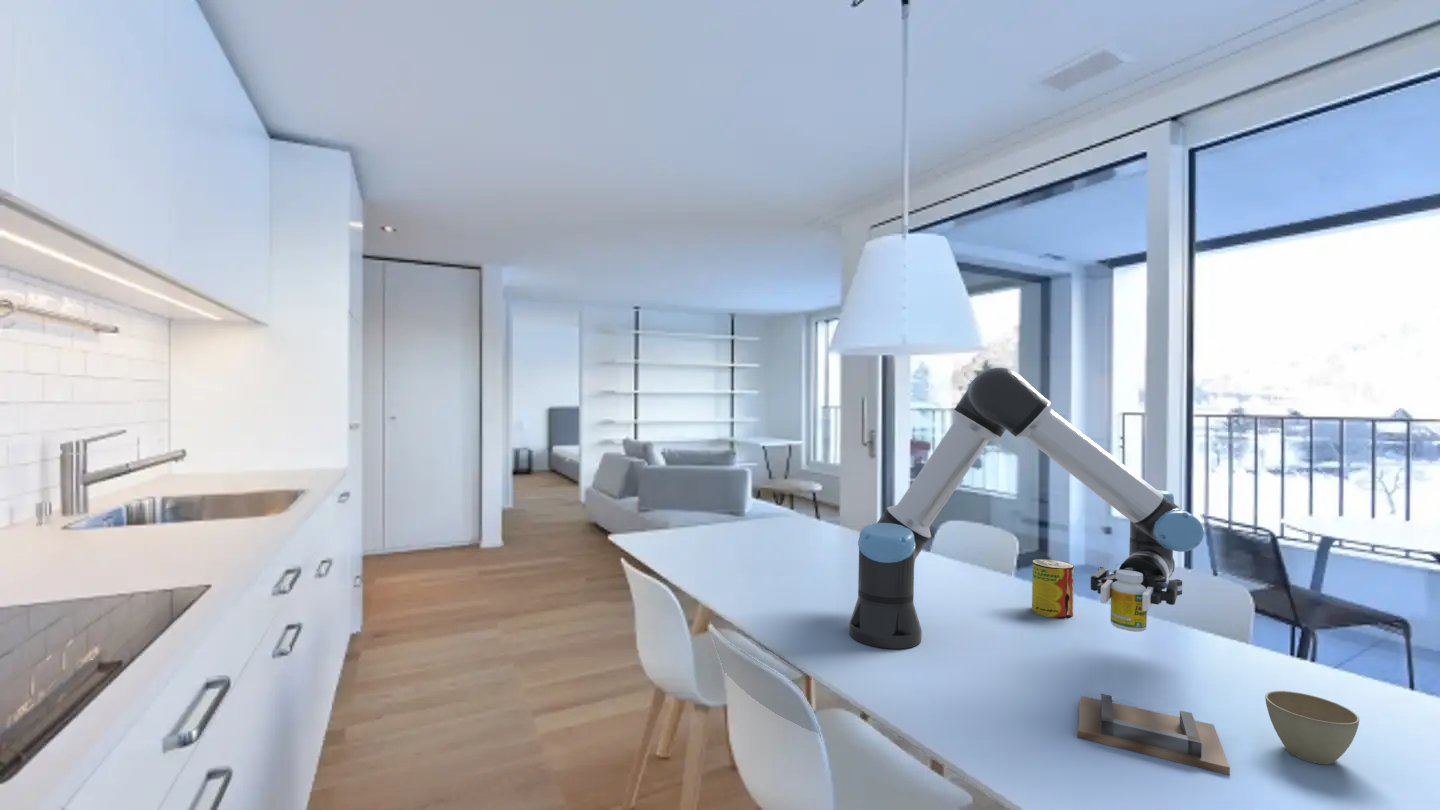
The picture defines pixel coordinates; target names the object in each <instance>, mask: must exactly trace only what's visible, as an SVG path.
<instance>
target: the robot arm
mask: <svg viewBox="0 0 1440 810" xmlns="http://www.w3.org/2000/svg"><path fill="white" fill-rule="evenodd" d="M953 416H954V421H953V423H952V424H951V426H950V427H949V429H948V430H947V431H946V433H945V435H944V436H943V438H941V441H940V442H939V443H938V445H937V446H936V448H935V449H934V450H933V453H931V455H930V457H929V458H928V460H927V461H926V463H925V464H924V465H923V467H922V468H921V470H920V471H919V473H918V474H917V475H916V477H915V479H914V480H913V482H912V483H911V484H910V486H909V487H908V489H907V490H906V492H905V493H904V494H903V496H902V498H901V499H900V501H899V502H898V503H897V504H896V505H891V506H888V507H887V508H886V509H885V511H884V512H883V514H882V515H881V517H880V518H879V519H878V521H877V523H872V524H868V525H864V527H862V528H861V530H860V532H859V536H858V537H859V538H858V541H857V544H858V578H857V579H858V580H857V581H858V583H857V585H858V586H857V589H858V591H857V600H856V603H855V606H854V609H853V610H852V614H851V617H850V620H849V623H848V624H849V625H848V626H849V627H848V628H849V630H848V631H849V632H848V633H849V635H850V637H852V638H853V639H854V640H856V641H857V642H860V643H862V644H865V645H867V646H871V647H877V648H883V649H892V650H893V649H895V650H896V649H897V650H898V649H899V650H900V649H909V648H913V647H917V646H918V645H920V643H921V642H922V634H923V633H922V627H921V623H920V620H919V616H918V613H917V611H916V607H915V603H914V602H915V601H914V597H915V596H914V593H915V591H914V590H915V589H914V587H915V586H914V585H915V563H916V559H917V557H918V556H919V554H920V553H921V552H922V550H923V549H924V548H925V546H926V544H927V543H928V541H929V540H930V538H931V537H932V535H931V533H932V532H931V531H930V528H931V525H932V524H933V522H934V521H935V519H936V518H937V516H938V515H939V514H940V512H941V510H942V509H943V508H944V506H945V505H946V504H947V502H948V501H949V499H950V498H951V497H952V495H953V493H955V491H956V489H957V488H958V487H959V485H960V483H961V482H962V480H963V479H964V478H965V476H966V475H967V473H968V472H969V471H970V470H971V468H972V466H973V465H974V463H975V462H976V461H977V459H978V457H979V456H980V455H981V453H982V452H983V451H984V449H985V448H986V447H987V445H988V443H989V442H990V441H994V440H995V441H996V440H999V439H1001V437H1002V436H1003V434H1004V433H1005V431H1007V432H1008V433H1010V434H1011V435H1012V436H1013V437H1015V438H1025V439H1026V440H1027V441H1028V442H1029V443H1031V444H1032V445H1034V446H1035V447H1036V448H1038V450H1040V451H1041V452H1042V453H1043V454H1045V455H1047V457H1048V458H1050V459H1051V460H1053V461H1054V462H1055V463H1056V464H1058V465H1059V466H1060V467H1061V468H1063V469H1064V470H1065V471H1067V472H1068V473H1069V474H1070V475H1072V476H1073V477H1074V478H1075V479H1077V480H1078V481H1079V482H1081V483H1082V484H1084V486H1086V487H1087V488H1088V489H1090V490H1091V491H1092V492H1094V494H1096V495H1097V496H1098V497H1100V498H1101V499H1102V500H1104V501H1105V502H1106V503H1107V504H1108V505H1110V506H1111V507H1112V508H1114V509H1115V510H1116V511H1118V513H1120V514H1121V515H1122V516H1123V517H1125V518H1126V519H1127V520H1129V545H1128V547H1129V548H1128V549H1129V552H1128V553H1129V556H1128V557H1127V558H1126V559H1125V560H1124V561H1123V562H1122V563H1121V565H1120V566H1119V568H1118V570H1131V571H1136V572H1139V573H1142V574H1143V581H1142V583H1141V585H1143V586H1144V587H1145V588H1146V590H1145V592H1144V593H1143V599H1142V611H1147V613H1148V612H1149V611H1150V609H1151V607H1152V605H1160V604H1162V602H1165V603H1166V604H1167V605H1171V606H1173V605H1175V604H1176V601H1177V597H1178V596H1182V594H1183V580H1181V579H1179V578H1178V579H1177V578H1176V579H1170V578H1171V577H1172V575H1173V574H1174V572H1175V565H1176V564H1175V559H1174V551H1175V552H1178V553H1179V552H1180V553H1181V552H1189V551H1192V550H1194V549H1196V548H1197V547H1199V546H1200V544H1201V543H1202V541H1203V539H1204V535H1205V534H1204V533H1205V530H1204V527H1203V525H1202V523H1201V521H1200V520H1199V519H1198V518H1197V517H1196V516H1194V515H1193V514H1192V513H1191V512H1189V511H1187V510H1183V509H1182V508H1181V507H1179V505H1177V504H1175V498H1174V494H1173V493H1172V492H1170V491H1166V490H1161V489H1160V490H1159V489H1156V488H1155V487H1153V485H1151V484H1149V483H1148V481H1146V480H1144V479H1143V478H1142V477H1141V476H1139V474H1137V473H1135V472H1134V471H1133V470H1131V469H1130V468H1129V467H1128V466H1126V465H1125V464H1123V463H1122V462H1121V461H1119V459H1118V458H1116V457H1114V456H1113V455H1112V454H1111V453H1109V452H1108V451H1106V450H1105V449H1104V448H1103V447H1102V446H1100V445H1099V444H1098V443H1096V442H1095V441H1094V440H1092V439H1091V438H1090V437H1088V436H1087V435H1086V434H1085V433H1083V432H1082V431H1080V430H1079V429H1078V428H1077V427H1075V426H1074V425H1072V423H1070V422H1069V421H1068V420H1066V419H1065V418H1063V416H1062V415H1060V414H1058V413H1057V412H1056V411H1054V410H1053V408H1052V404H1051V401H1050V400H1049V399H1047V398H1046V397H1045V396H1044V395H1042V394H1041V393H1040V392H1039V391H1038V390H1037V389H1035V387H1033V385H1031V384H1030V383H1029V381H1027V380H1026V379H1025V378H1024V377H1023V376H1022V375H1020V374H1019V373H1018V372H1016V371H1014V370H1012V369H1009V368H1006V367H993V368H989V369H987V370H985V371H982V372H981V373H980V374H978V375H977V376H976V377H975V378H973V380H972V381H971V382H970V383H969V385H968V388H967V389H966V392H965V393H964V394H963V396H962V397H961V399H960V400H959V402H958V403H957V405H956V406H955V407H954V410H953ZM1116 570H1117V569H1115V570H1113V572H1112V571H1110V570H1109V569H1107V568H1106V567H1103V566H1099V567H1097V571H1095V572H1094V573H1093V574H1091V575H1090V590H1091V591H1095V592H1096V591H1097V594H1099V595H1100V603H1101V604H1106V603H1108V601H1109V600H1111V585H1112V583H1113V582H1115V581H1117V579H1116V577H1115V576H1116ZM1165 589H1166V590H1165Z"/></svg>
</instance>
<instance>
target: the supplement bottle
mask: <svg viewBox="0 0 1440 810" xmlns="http://www.w3.org/2000/svg"><path fill="white" fill-rule="evenodd" d="M1115 570H1116V576H1115V577H1116V579H1117V581H1115V582H1113V583H1112V585H1111V598H1110V621H1109V622H1110V624H1111V625H1112V626H1113V627H1115V628H1116V629H1120V630H1122V631H1127V632H1128V631H1129V632H1137V633H1139V632H1144V631H1146V629H1147V621H1148V620H1147V618H1148V617H1147V616H1148V614H1147V613H1148V612H1147V611H1142V599H1143V593H1144V592H1145V590H1146V588H1145V587H1144V586H1143V585H1141V583H1142V581H1143V574H1142V573H1139V572H1136V571H1131V570H1119V569H1115Z"/></svg>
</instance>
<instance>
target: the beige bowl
mask: <svg viewBox="0 0 1440 810" xmlns="http://www.w3.org/2000/svg"><path fill="white" fill-rule="evenodd" d="M1264 698H1265V705H1266V709H1267V712H1268V716H1269V720H1270V721H1271V724H1272V726H1273V728H1274V730H1275V732H1276V734H1277V736H1278V738H1279V740H1280V741H1281V744H1282V745H1283V747H1284V748H1285V749H1286V751H1287V752H1289V753H1290V754H1291V755H1293V756H1294V757H1296V758H1299V759H1301V760H1304V761H1307V762H1310V763H1314V764H1318V765H1332V764H1334V763H1335V762H1336V761H1338V760H1339V759H1340V758H1341V757H1342V756H1344V755H1343V754H1345V753H1346V752H1347V750H1349V747H1350V746H1351V744H1352V743H1353V741H1354V740H1355V737H1356V735H1357V731H1358V728H1359V725H1360V724H1359V723H1360V716H1359V715H1358V714H1357V713H1356V712H1354V711H1353V710H1351V709H1349V708H1347V707H1346V706H1344V705H1342V704H1339V703H1337V702H1335V701H1332V700H1328V699H1326V698H1323V697H1320V696H1315V695H1312V694H1308V693H1307V694H1306V693H1303V692H1297V691H1289V690H1270V691H1269V692H1267V693H1265V696H1264Z"/></svg>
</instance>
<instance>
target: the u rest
mask: <svg viewBox="0 0 1440 810" xmlns="http://www.w3.org/2000/svg"><path fill="white" fill-rule="evenodd" d="M1079 697H1080V698H1079V711H1078V712H1079V715H1078V727H1077V731H1078V732H1077V734H1078V735H1077V738H1078V737H1079V739H1084V740H1087V741H1091V742H1094V743H1099V744H1104V745H1107V746H1112V747H1116V748H1119V749H1123V750H1128V751H1130V752H1136V753H1138V754H1139V753H1140V754H1144V755H1148V756H1152V757H1155V758H1159V759H1164V760H1167V761H1171V762H1175V763H1176V762H1177V763H1179V764H1184V765H1188V766H1192V767H1196V768H1201V769H1204V770H1209V771H1212V772H1217V773H1220V774H1224V775H1229V776H1230V774H1231V770H1230V769H1231V767H1230V764H1229V761H1228V759H1227V756H1226V752H1225V751H1224V749H1223V745H1222V743H1221V741H1220V738H1219V734H1218V733H1217V730H1216V728H1215V725H1214V724H1212V723H1208V722H1204V721H1199V720H1195V719H1194V716H1193V713H1192V712H1191V711H1190V712H1189V711H1185V710H1179V716H1177V715H1176V716H1175V715H1171V714H1168V713H1167V714H1166V713H1162V712H1158V711H1154V710H1148V709H1144V708H1140V707H1134V706H1131V705H1126V704H1125V705H1124V704H1121V703H1117V702H1113V696H1112V695H1108V694H1104V693H1101V695H1100V699H1098V698H1094V697H1089V696H1084V695H1080V696H1079Z"/></svg>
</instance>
